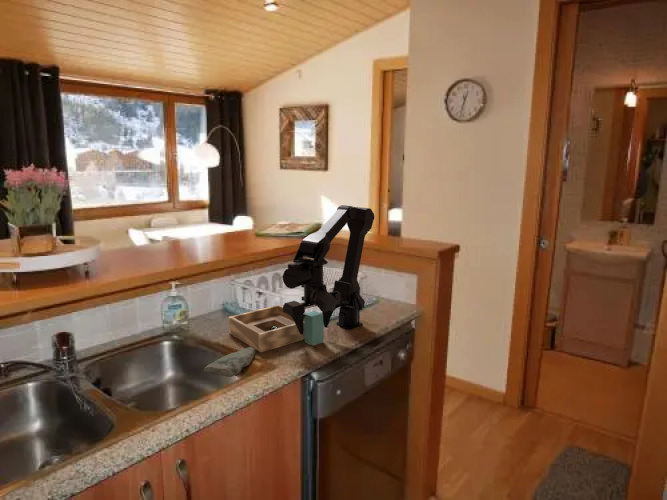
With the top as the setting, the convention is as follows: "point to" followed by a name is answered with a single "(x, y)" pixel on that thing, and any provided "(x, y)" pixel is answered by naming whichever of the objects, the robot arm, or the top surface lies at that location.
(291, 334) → the box
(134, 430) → the top surface
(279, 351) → the top surface
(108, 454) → the top surface
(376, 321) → the top surface
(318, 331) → the peg
